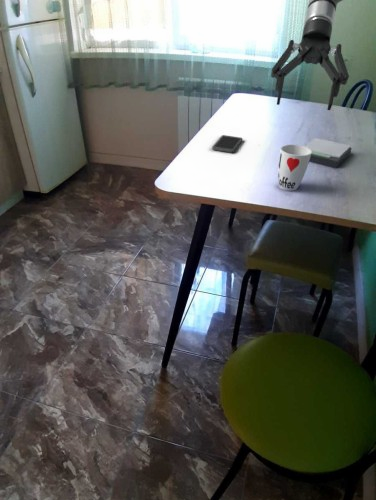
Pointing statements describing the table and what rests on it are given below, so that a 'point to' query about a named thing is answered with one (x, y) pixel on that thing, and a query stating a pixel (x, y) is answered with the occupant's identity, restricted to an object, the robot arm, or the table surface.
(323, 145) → the scale
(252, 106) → the table surface
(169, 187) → the table surface
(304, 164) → the cup
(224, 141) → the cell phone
